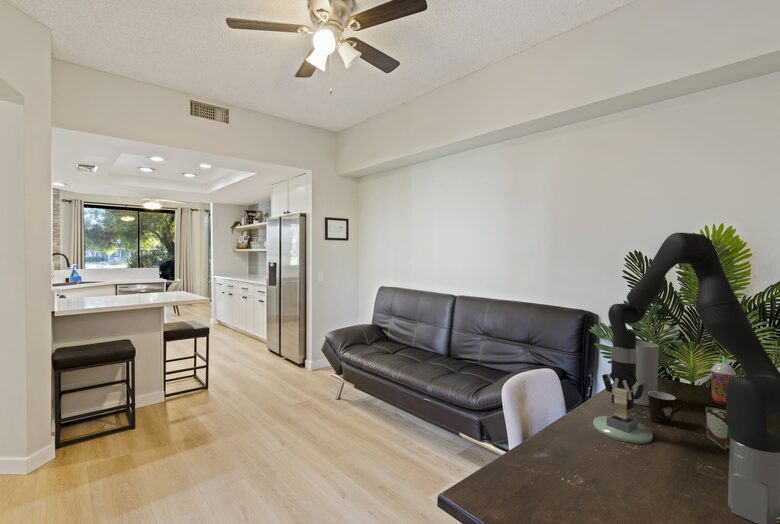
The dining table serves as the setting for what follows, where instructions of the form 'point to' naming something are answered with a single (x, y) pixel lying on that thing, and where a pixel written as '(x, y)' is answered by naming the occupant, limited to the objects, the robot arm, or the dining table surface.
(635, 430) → the clip plate
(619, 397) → the beige rectangular block
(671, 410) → the coffee mug
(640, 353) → the cylinder vase
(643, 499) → the dining table surface
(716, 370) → the smoothie
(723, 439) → the food container
